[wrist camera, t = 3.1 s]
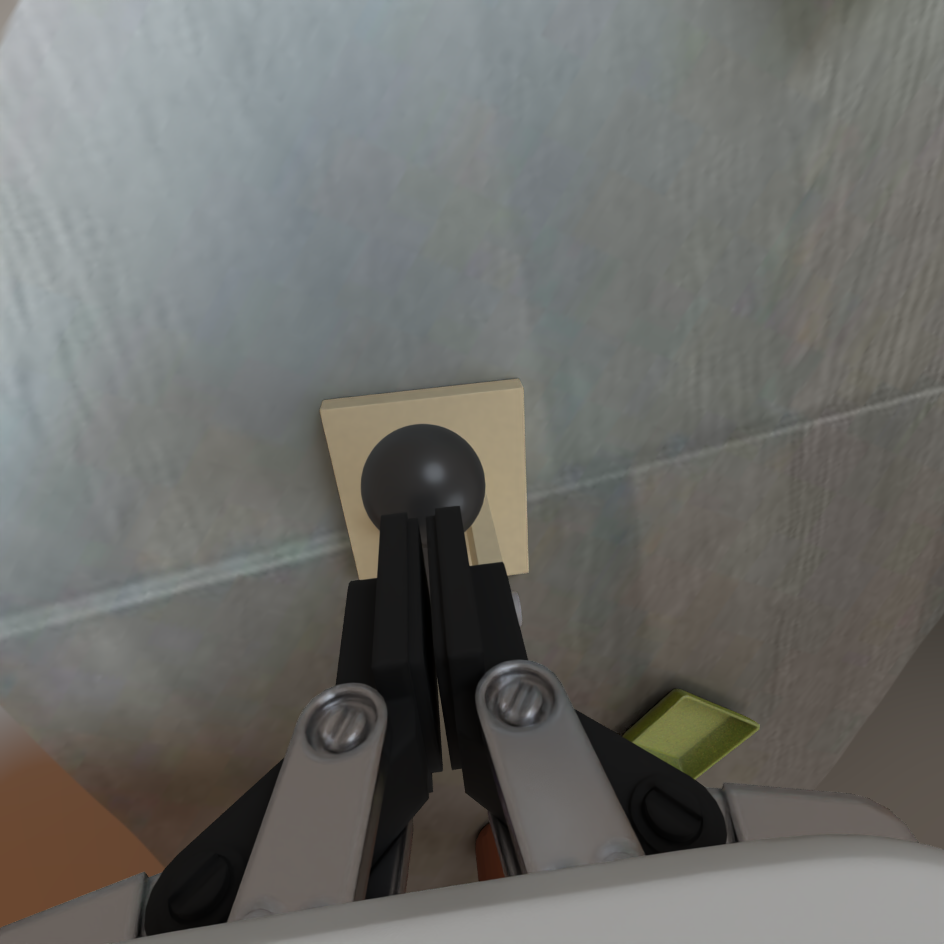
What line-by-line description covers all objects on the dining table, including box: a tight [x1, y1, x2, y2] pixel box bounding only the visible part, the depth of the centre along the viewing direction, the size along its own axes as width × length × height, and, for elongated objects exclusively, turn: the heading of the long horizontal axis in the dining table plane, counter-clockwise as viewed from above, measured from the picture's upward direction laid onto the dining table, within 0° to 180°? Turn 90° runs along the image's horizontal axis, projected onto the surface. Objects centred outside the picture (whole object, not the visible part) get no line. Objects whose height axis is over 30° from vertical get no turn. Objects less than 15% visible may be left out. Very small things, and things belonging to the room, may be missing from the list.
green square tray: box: [622, 689, 760, 779], centre depth 44 cm, size 9×9×2 cm
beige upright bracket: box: [320, 379, 529, 626], centre depth 26 cm, size 12×10×12 cm
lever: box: [361, 424, 486, 600], centre depth 18 cm, size 13×3×3 cm, turn 4°
